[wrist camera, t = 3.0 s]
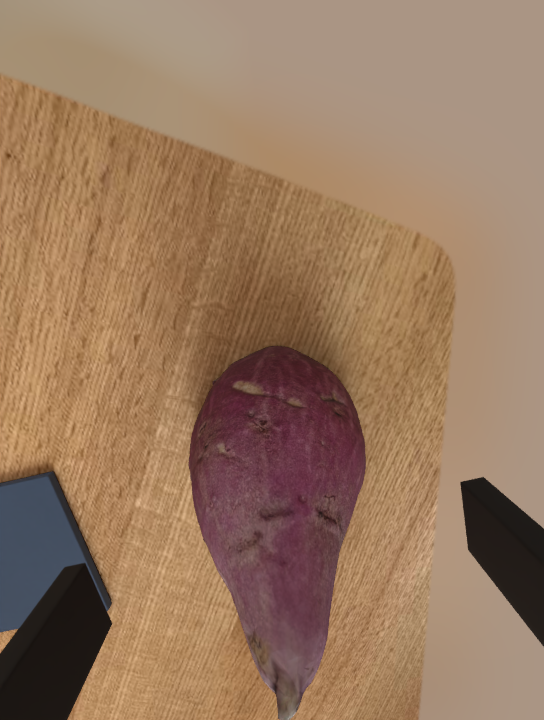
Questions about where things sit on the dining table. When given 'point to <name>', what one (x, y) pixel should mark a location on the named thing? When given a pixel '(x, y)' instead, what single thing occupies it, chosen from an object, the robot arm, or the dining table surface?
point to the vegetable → (278, 504)
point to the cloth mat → (36, 545)
